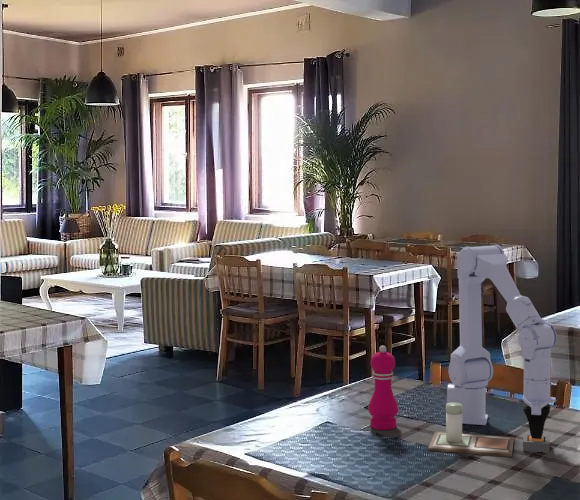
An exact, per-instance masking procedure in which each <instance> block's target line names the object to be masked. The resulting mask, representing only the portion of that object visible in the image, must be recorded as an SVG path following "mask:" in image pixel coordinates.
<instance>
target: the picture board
mask: <svg viewBox="0 0 580 500" xmlns="http://www.w3.org/2000/svg"><path fill="white" fill-rule="evenodd" d="M434 431H435V430H434ZM514 443H515V436H502V435H488V434H486V435H485V434H475V433H463V432H462V441H461V442H449V441H446V431H435V432H434V434H433V436H432V439H430V443H429V446H428V448H427V449H428V451H434V452H435V451H436V452H447V453H449V452H450V453H461V454H472V455H483V456H495V457H496V456H497V457H510V458H511V457H512V456H513V451H514V450H513V448H514Z"/></svg>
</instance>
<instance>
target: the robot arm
mask: <svg viewBox="0 0 580 500" xmlns="http://www.w3.org/2000/svg"><path fill="white" fill-rule="evenodd" d="M456 255H457V256H456V257H457V258H456V261H457V262H456V263H457V265H456V267H457V279H458V297H459V298H458V301H459V303H458V305H459V306H458V308H459V309H458V310H459V311H458V312H459V313H458V314H459V346H458V347H457V348H456V349H454V351H453V352H452V353H450V361H449V365H448V371H447V373H448V376H449V379H450V381H451V382H452V383H449V384H447V389H446V404H447V403H460V404H462V405H463V413H462V425H464V424H465V425H476V426H477V425H478V426H480V425H481V426H486V425H487V422H488V418H489V414H487V413H486V390H487V389H486V386H489V382H490V381H491V379H492V378H493V374H494V367H493V364H492V360H491V353H490V352H489V351H488V350H487V349H485V348H484V346H483V330H482V329H483V325H482V323H483V322H482V321H483V320H482V283H483V282H484V281H485V280H486V279H489V280H491V282H492V283H493V285H494V286H495V288H496V289H497V290H498V292H499V293H500V294H501V296H502V297H503V299H504V300H505V302H506V303H507V304H506V306H505V311H506V313H507V314H508V316H509V318H510V319H511V321H512V323H513V325H514V326H515V329H517V331H518V333H519V335H517V340H518V344H519V347H520V349H521V350H520V351H521V357H522V358H523V396H522V402H524V403H525V404H523V413H524V415H525V416H526V418H527V423H528V427H529V434H530V435H531V438H535V439H541V438H542V435H543V433H544V427H545V422H546V420H547V417H548V416H549V414H550V411H551V405H550V403H556V400H557V399H556V398H557V397H555V396H554V397H553V396H551V375H552V374H551V371H552V370H551V369H552V367H551V366H552V364H551V363H552V360H551V359H552V355H551V354H552V349H553V348H554V347H555V346H556V344H557V342H558V334H557V332H556V329H555V326H554V325H553V324H552V323H551V322H548V321H546V320H545V319H543V318H542V317H541V316H540V314H539V313H538V311H537V309H536V308H535V306H534V304H533V301H531V299H530V297H528V296H524V295H522V294H521V292H520V291H519V289H518V287H517V285H516V283H515V281H514V279H513V277H512V275H511V273H510V270H509V269H508V267H507V264H508V256H507V255H506V254H505V252H504V249H503V248H502V246H500V245H499V244H493V245H481V246H464V247H463V248H462V249H461V250H460V251H459V252H458V254H456Z"/></svg>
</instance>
